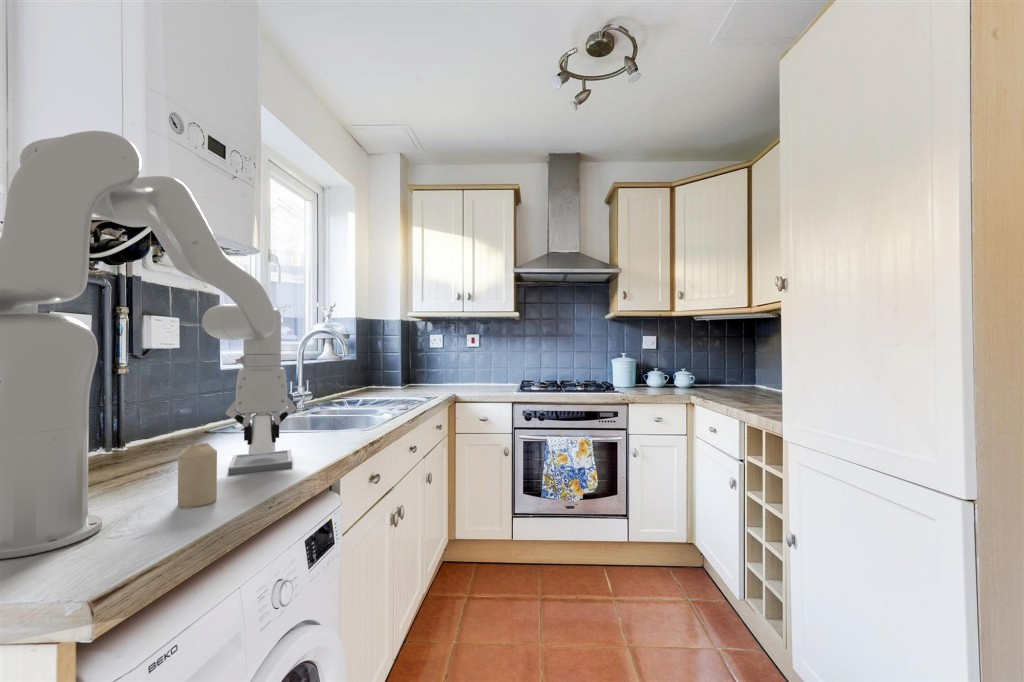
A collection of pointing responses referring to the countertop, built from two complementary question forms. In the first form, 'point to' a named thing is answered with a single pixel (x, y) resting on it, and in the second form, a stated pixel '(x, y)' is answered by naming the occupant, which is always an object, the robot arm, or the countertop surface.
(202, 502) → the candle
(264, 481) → the countertop surface
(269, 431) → the salt shaker
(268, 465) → the tray
